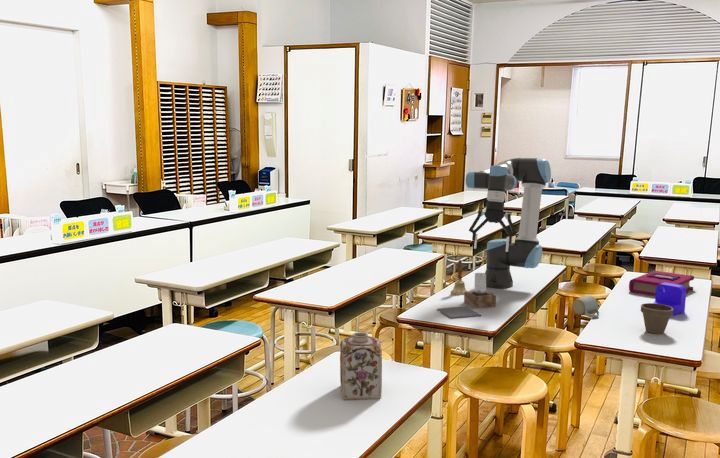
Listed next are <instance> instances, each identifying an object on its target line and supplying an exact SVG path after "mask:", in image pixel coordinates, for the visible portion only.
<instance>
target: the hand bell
mask: <svg viewBox="0 0 720 458" xmlns="http://www.w3.org/2000/svg"><path fill="white" fill-rule="evenodd" d="M456 267H457V274H458V275H457V276H458V277H457V278H458V279H457V280H455V282H454V287H453V288H452V290H450V293H451V294H453V295H458V296H462V295H463V296H464V292H467V291H468V290H467V288H466V285H465V281H464V280H463V278H462V273H463V261H462V260H461V259H458V262H457V265H456Z"/></svg>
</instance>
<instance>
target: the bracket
mask: <svg viewBox="0 0 720 458" xmlns="http://www.w3.org/2000/svg"><path fill="white" fill-rule="evenodd" d="M663 287H664V288H665V291H664V289H663ZM686 297H687V293H686V288H685V287H684V286H682V285H677V284H671V283H662V284H659V285H657V287H656V296H654V298H655V299H654V301H653V303H655V304H663V305H667V306H670V307H672V308H673V315H672V316H671V317H674V316H678V315H679V316H680V315H682V314H685V312H686V311H685V310H686V301H687V300H686V299H687V298H686Z"/></svg>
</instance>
